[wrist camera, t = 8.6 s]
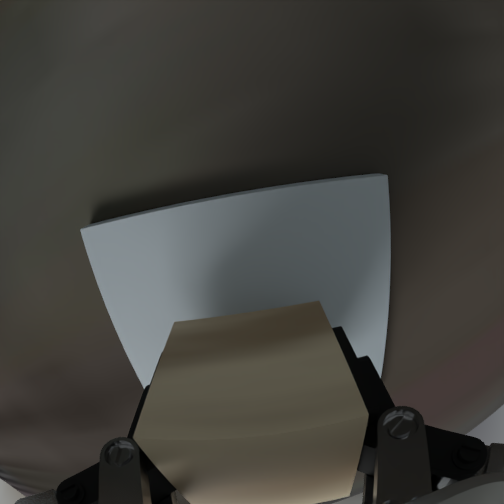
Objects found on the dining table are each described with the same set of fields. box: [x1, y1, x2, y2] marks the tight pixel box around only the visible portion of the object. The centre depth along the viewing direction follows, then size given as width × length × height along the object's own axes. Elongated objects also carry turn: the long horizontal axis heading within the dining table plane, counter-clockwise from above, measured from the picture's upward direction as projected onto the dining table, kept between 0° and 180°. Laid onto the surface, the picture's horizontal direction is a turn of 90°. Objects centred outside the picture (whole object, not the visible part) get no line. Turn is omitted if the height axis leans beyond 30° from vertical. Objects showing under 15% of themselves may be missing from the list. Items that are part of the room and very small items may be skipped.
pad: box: [80, 173, 391, 389], centre depth 12 cm, size 12×12×1 cm
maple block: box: [133, 301, 369, 504], centre depth 8 cm, size 5×5×5 cm
